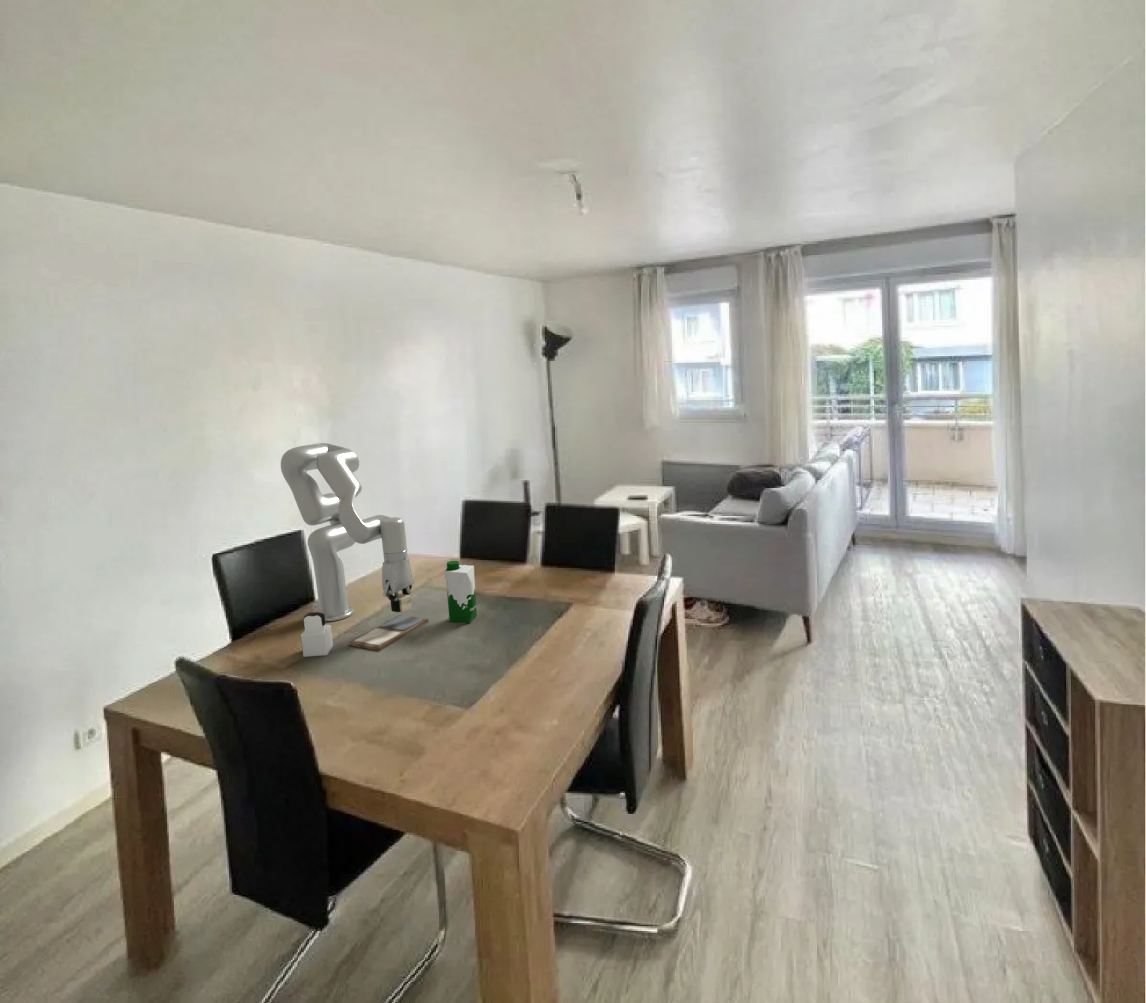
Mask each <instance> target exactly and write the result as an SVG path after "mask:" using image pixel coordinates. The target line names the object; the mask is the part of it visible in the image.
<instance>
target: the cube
mask: <svg viewBox="0 0 1146 1003" xmlns="http://www.w3.org/2000/svg"><path fill="white" fill-rule="evenodd" d="M398 600H399V603H400V612H399V613H405V612H407V611H408V610H410V609H412V600H411V594H410V595H406V594H402V593H398Z"/></svg>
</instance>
